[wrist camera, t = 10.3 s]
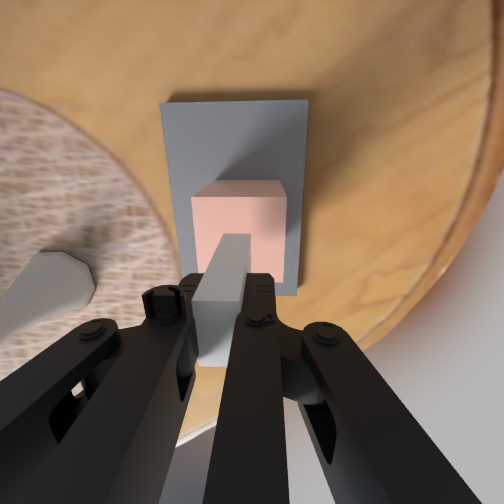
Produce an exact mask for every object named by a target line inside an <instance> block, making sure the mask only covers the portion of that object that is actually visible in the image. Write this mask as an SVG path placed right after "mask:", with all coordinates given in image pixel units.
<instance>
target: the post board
mask: <svg viewBox="0 0 504 504" xmlns="http://www.w3.org/2000/svg"><path fill="white" fill-rule="evenodd" d="M159 104H160V112H161V120H162V127H163V135H164V142H165V150H166V157H167V165H168V173H169V180H170V188H171V195H172V203H173V210H174V218H175V226H176V233H177V241H178V248H179V256H180V264H181V271H182V278H184V277H185V276H187V275H188V274H190V273H198V264H197V254H196V244H195V233H194V223H193V213H192V202H191V197H192V196H193V195H194V194H196V193H197V192H199V191H200V190H202V189H203V188H204V187H206V186H207V185H209V184H210V183H211V182H213V181H214V180H280V182H281V184H282V186H283V189H284V191H285V194H286V196H287V208H286V230H285V253H284V275H283V283H282V282H275V295H279V296H297V284H298V268H299V252H300V235H301V219H302V203H303V187H304V171H305V155H306V139H307V122H308V106H309V99H308V100H263V101H219V102H175V103H159Z"/></svg>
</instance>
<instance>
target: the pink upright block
mask: <svg viewBox="0 0 504 504" xmlns="http://www.w3.org/2000/svg"><path fill="white" fill-rule="evenodd" d="M191 202H192V213H193V223H194V233H195V244H196V254H197V264H198V273H205V271H206V269H207V267H208V265H209V263H210V261H211V259H212V256H213V254H214V252H215V250H216V248H217V246H218V244H219V242H220V240H221V238H222V236H223V233H233V234H251V273H270V274H271V276H272V277H273V278H274V282H282V283H283V275H284V253H285V230H286V208H287V196H286V194H285V191H284V189H283V186H282V184H281V182H280V180H214V181H213V182H211V183H210V184H209V185H207V186H206V187H204V188H203V189H202V190H200V191H199V192H197V193H196V194H194V195H193V196H192V197H191Z"/></svg>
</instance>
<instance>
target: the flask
mask: <svg viewBox="0 0 504 504" xmlns="http://www.w3.org/2000/svg"><path fill="white" fill-rule="evenodd" d="M94 290H95V285H94V282H93V279H92V276H91V273H90V271H89V268H88V265H86V264H84V263H83V262H81V261H79V260H77V259H75V258H73V257H72V256H70V255H68V254H66V253H64V252H39V253H37V254H36V255H35V256H34V257H33V258H32V260H31V261H30V262H29V264H28V265H27V266H26V268H25V269H24V270H23V272H22V273H21V274H20V276H19V277H18V278H17V279H16V280H15V282H14V283H13V284H12V285H11V286H10V288H9V289H8V290H7V291H6V293H5V294H4V295H3V296H2V297H1V298H0V343H2V342H3V341H4V340H6V339H7V338H9V337H10V336H11V335H13V334H15V333H17V332H19V331H21V330H23V329H25V328H26V327H28V326H30V325H32V324H35V323H38V322H41V321H43V320H46V319H49V318H52V317H54V316H57V315H60V314H63V313H66V312H69V311H72V310H76V309H79V308H82V307H84V306H87V305H88V303H89V301H90V298H91V296H92V294H93V292H94Z"/></svg>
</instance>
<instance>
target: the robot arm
mask: <svg viewBox="0 0 504 504" xmlns="http://www.w3.org/2000/svg"><path fill="white" fill-rule="evenodd" d="M142 300H143V304H144V309H145V314H146V318H145V320H144V321H143V323H142V324H141V325H139V326H135V327H129V328H124V329H118V326H117V323H116V322H115V321H114V320H112V319H108V318H100V319H94V320H91V321H88V322H86V323H83V324H81V325H80V326H78V327H76V328H75V329H73V330H72V331H70V332H69V333H68V334H66V335H65V336H63V337H62V338H61V339H59V340H58V341H56V342H55V343H54V344H52V345H51V346H49V347H48V348H47V349H45V350H44V351H42V352H41V353H39V354H38V355H37V356H35V357H34V358H32V359H31V360H30V361H28V362H27V363H25V364H24V365H23V366H21V367H20V368H18V369H17V370H16V371H14V372H13V373H11V374H10V375H9V376H7V377H6V378H4V379H3V380H2V381H0V504H158V503H159V500H160V497H161V493H162V490H163V486H164V483H165V480H166V476H167V473H168V470H169V466H170V463H171V460H172V456H173V453H174V450H175V446H176V443H177V439H178V436H179V433H180V429H181V426H182V423H183V419H184V416H185V413H186V409H187V406H188V403H189V399H190V396H191V392H192V389H193V386H194V382H195V377H196V372H195V363H196V360H197V357H198V359H199V366H202V367H227V370H226V375H225V381H224V386H223V392H222V397H221V403H220V409H219V414H218V420H217V425H216V431H215V436H214V442H213V448H212V453H211V459H210V464H209V470H208V475H207V481H206V487H205V492H204V498H203V503H202V504H290V502H289V487H288V470H287V455H286V439H285V422H284V407H283V397H286V398H289V399H291V400H294V401H297V402H298V406H299V409H300V412H301V414H302V417H303V419H304V422H305V425H306V427H307V430H308V433H309V435H310V438H311V441H312V443H313V445H314V448H315V451H316V454H317V456H318V459H319V462H320V464H321V467H322V469H323V472H324V475H325V477H326V480H327V483H328V485H329V487H330V490H331V493H332V496H333V498H334V501H335V503H336V504H482V503H481V502H480V500H479V499H478V498H477V497H476V495H475V494H474V493H473V492H472V490H471V489H470V488H469V487H468V485H467V484H466V483H465V482H464V480H463V479H462V478H461V476H460V475H459V474H458V473H457V471H456V470H455V469H454V468H453V466H452V465H451V464H450V463H449V461H448V460H447V459H446V457H445V456H444V455H443V454H442V452H441V451H440V450H439V448H438V447H437V446H436V445H435V443H434V442H433V441H432V440H431V438H430V437H429V436H428V434H426V432H425V431H424V430H423V428H422V427H421V426H420V424H419V423H418V422H417V421H416V419H415V418H414V417H413V416H412V414H411V413H410V412H409V410H408V409H407V408H406V407H405V405H404V404H403V403H402V402H401V400H400V399H399V398H398V397H397V395H396V394H395V393H394V391H393V390H392V389H391V388H390V386H389V385H388V384H387V383H386V381H385V380H384V379H383V377H382V376H381V375H380V374H379V373H378V371H377V370H376V369H375V367H374V366H373V365H372V364H371V362H370V361H369V360H368V359H367V357H366V356H365V355H364V353H363V352H362V351H361V350H360V348H359V347H358V346H357V344H356V343H355V342H354V341H353V339H352V338H351V337H350V336H349V334H348V333H347V332H346V331H345V330H343V329H342V328H341V327H339V326H337V325H335V324H332V323H328V322H314V323H310V324H308V325H307V326H306V327H304V329H303V331H302V330H298V329H294V328H291V327H288V326H287V325H285V324H283V323H282V322H281V321H280V320H279V319H278V317H277V314H276V298H275V282H274V278H273V277H272V276H271V274H270V273H251V234H233V233H223V236H222V238H221V240H220V242H219V244H218V246H217V248H216V250H215V252H214V254H213V256H212V259H211V261H210V263H209V265H208V267H207V269H206V271H205V273H190V274H188V275H187V276H185V277H184V278H182V280H181V282H180V283H179V285H178V286H177V285H161V286H157V287H154V288H152V289H150V290H147V291H146V292H145V293H144V294H142ZM79 382H81V385H82V387H83V390H82V391H81V392H80V393H79V394H77V395H76V396H73V394H72V392H71V390H72V389H73V388H74V387H75V386H76V385H77V384H78V383H79Z"/></svg>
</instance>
